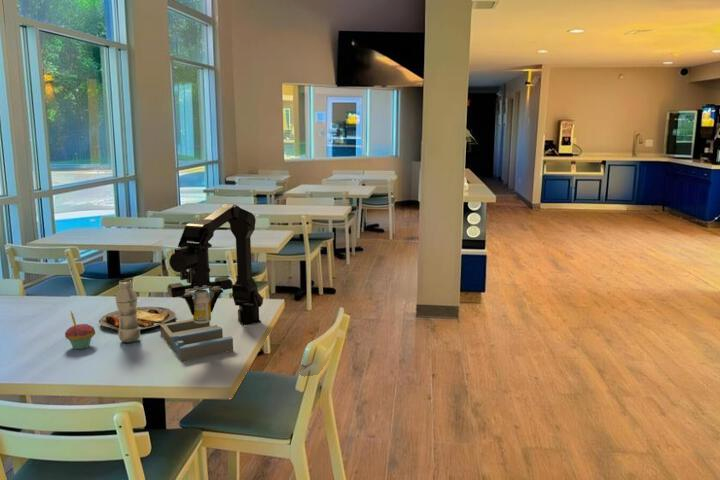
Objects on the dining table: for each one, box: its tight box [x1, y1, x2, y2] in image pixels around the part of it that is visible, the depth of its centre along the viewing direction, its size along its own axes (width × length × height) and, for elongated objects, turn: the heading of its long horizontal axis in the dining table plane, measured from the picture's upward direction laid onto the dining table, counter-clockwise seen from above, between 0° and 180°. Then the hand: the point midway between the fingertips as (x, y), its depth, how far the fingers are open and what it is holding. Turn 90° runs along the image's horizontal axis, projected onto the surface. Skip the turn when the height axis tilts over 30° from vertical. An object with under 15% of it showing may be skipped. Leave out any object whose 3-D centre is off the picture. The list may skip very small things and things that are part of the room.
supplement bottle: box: [192, 289, 212, 324], centre depth 182 cm, size 5×5×10 cm
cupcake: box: [64, 310, 96, 350], centre depth 185 cm, size 9×8×12 cm
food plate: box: [98, 306, 176, 332], centre depth 209 cm, size 25×23×4 cm
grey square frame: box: [159, 318, 234, 362], centre depth 190 cm, size 16×26×5 cm, turn 31°
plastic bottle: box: [114, 279, 141, 343], centre depth 189 cm, size 6×7×20 cm
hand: (202, 313), depth 182 cm, fingers closed on supplement bottle, 5 cm apart
